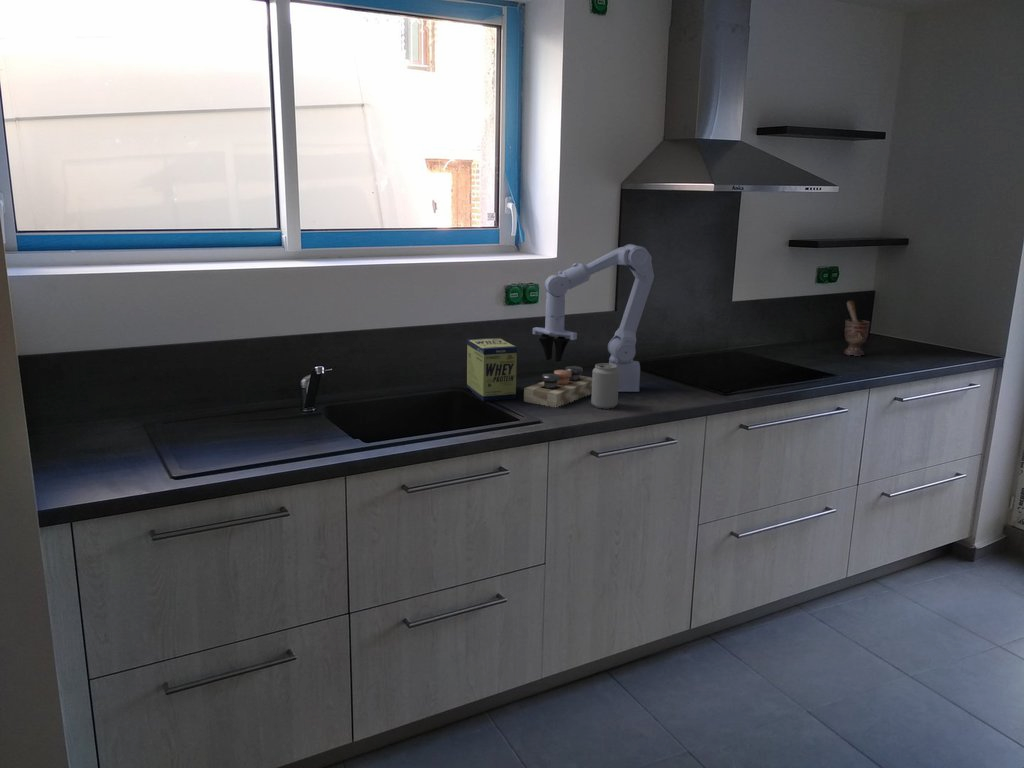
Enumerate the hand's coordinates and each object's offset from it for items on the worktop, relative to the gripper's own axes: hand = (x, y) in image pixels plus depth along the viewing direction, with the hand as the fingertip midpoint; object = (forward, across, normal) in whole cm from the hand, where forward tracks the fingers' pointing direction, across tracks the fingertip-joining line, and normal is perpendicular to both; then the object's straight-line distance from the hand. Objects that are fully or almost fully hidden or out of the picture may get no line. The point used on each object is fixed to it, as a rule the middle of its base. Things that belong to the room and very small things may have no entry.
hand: (553, 360), depth 249 cm
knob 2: (+6, +6, +2) cm, 9 cm away
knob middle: (+6, +6, -4) cm, 10 cm away
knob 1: (+6, +6, -11) cm, 14 cm away
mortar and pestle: (+10, +58, +121) cm, 135 cm away
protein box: (+10, -12, -15) cm, 22 cm away
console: (+9, +6, -4) cm, 12 cm away
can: (+10, +21, -6) cm, 24 cm away
